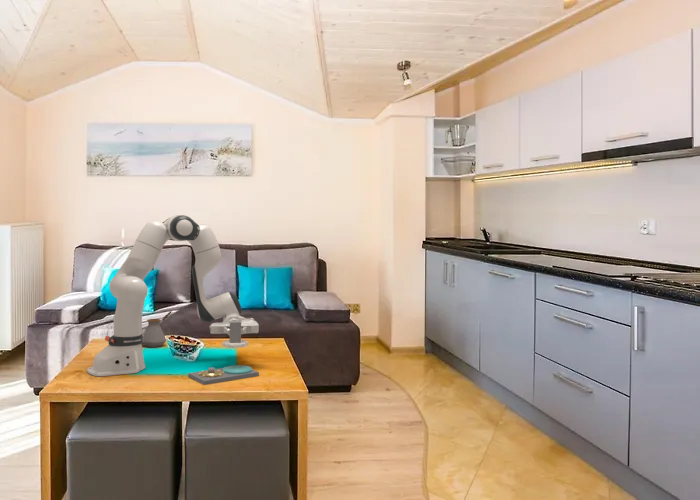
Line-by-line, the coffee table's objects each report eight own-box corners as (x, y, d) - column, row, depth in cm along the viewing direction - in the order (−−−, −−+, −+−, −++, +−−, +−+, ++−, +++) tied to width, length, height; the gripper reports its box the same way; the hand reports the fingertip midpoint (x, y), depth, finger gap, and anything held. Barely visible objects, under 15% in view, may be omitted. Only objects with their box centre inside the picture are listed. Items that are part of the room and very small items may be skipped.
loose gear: (222, 348, 246) (223, 324, 246) (221, 343, 256) (222, 319, 256) (248, 347, 249) (249, 323, 248) (246, 342, 259) (247, 319, 258)
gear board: (204, 384, 232) (204, 374, 232) (188, 376, 243) (188, 366, 242) (258, 375, 247) (258, 365, 247) (241, 368, 258) (241, 359, 258)
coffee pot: (157, 349, 291) (157, 318, 290) (136, 347, 294) (136, 316, 294) (181, 340, 312) (181, 311, 311) (161, 339, 315) (162, 310, 314)
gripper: (209, 318, 262) (209, 324, 249) (257, 318, 267) (260, 323, 253) (209, 333, 262) (209, 339, 249) (256, 332, 267) (259, 338, 254)
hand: (235, 331), depth 251 cm, fingers closed on loose gear, 4 cm apart
